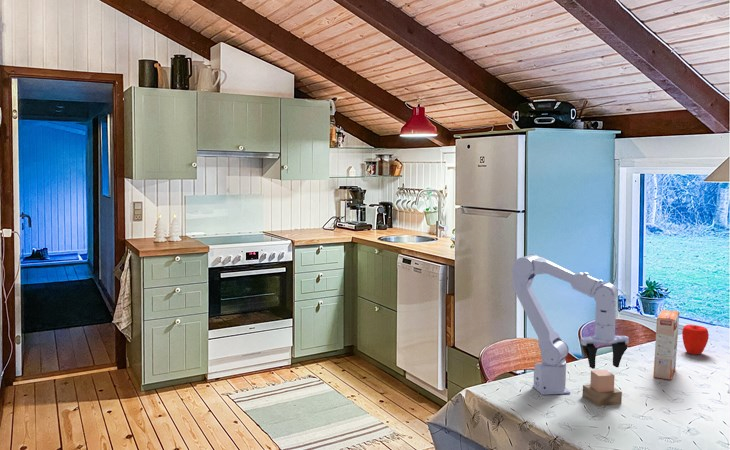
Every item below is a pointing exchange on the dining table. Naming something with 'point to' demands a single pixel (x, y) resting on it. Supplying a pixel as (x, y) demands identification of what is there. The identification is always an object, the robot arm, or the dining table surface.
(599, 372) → the terracotta block
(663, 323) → the cracker box
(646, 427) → the dining table surface
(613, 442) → the dining table surface
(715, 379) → the dining table surface
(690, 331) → the apple
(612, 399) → the walnut base
